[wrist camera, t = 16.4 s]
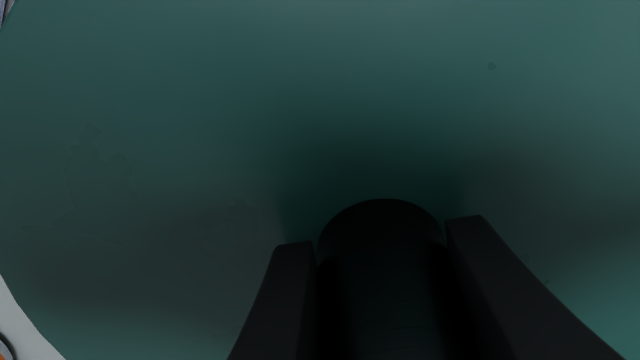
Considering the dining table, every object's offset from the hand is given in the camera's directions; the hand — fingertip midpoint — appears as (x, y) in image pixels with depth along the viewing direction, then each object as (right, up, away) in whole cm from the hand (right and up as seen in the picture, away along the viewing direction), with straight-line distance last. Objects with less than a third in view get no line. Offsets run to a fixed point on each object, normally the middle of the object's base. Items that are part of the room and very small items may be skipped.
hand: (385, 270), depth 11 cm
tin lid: (0, +1, +1) cm, 1 cm away
